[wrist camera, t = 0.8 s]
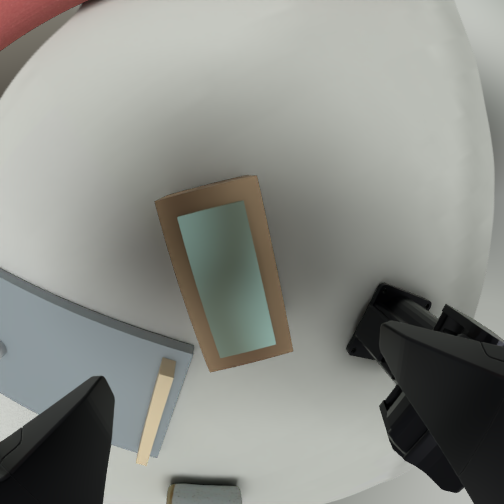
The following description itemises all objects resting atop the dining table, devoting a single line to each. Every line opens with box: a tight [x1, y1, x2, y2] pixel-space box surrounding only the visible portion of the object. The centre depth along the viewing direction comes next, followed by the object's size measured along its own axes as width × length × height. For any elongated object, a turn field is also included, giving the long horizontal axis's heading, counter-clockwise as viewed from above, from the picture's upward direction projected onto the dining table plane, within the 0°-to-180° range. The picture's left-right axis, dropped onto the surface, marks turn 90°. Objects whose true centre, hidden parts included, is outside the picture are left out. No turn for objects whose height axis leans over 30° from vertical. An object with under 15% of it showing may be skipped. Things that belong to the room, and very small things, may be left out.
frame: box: [155, 175, 293, 372], centre depth 17 cm, size 5×10×5 cm, turn 13°
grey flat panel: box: [0, 268, 194, 466], centre depth 19 cm, size 18×14×3 cm
